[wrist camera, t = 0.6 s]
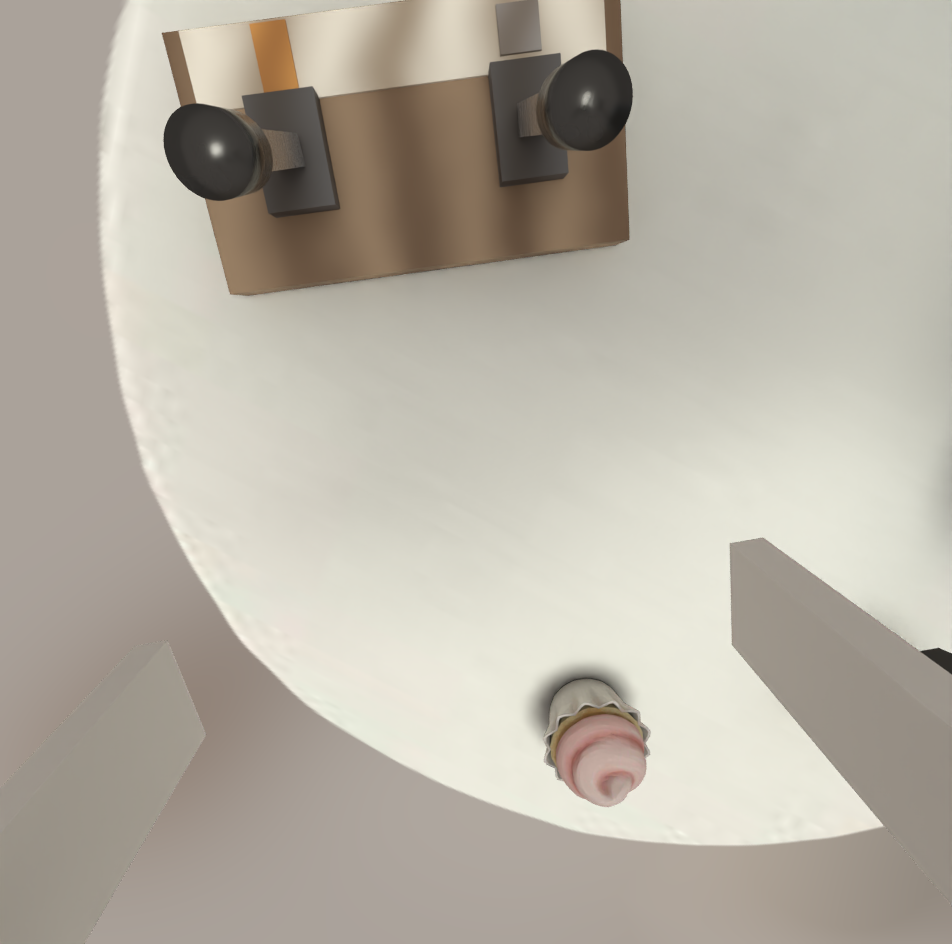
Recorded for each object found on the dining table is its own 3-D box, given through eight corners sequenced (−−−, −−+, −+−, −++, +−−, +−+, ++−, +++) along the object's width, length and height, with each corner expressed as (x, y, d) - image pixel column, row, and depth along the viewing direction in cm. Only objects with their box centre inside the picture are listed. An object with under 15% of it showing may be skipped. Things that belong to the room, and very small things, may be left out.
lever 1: (306, 116, 28) (234, 97, 18) (321, 178, 30) (263, 195, 19) (252, 123, 28) (148, 109, 18) (269, 185, 30) (184, 206, 19)
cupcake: (620, 649, 46) (665, 737, 37) (641, 728, 49) (687, 829, 40) (521, 678, 47) (539, 772, 37) (546, 755, 50) (570, 861, 40)
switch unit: (604, 2, 32) (628, -46, 28) (615, 245, 36) (637, 236, 32) (187, 58, 32) (146, 18, 28) (247, 295, 36) (220, 293, 32)
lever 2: (557, 82, 28) (634, 43, 18) (559, 146, 30) (630, 145, 20) (503, 89, 28) (549, 55, 18) (508, 153, 30) (552, 155, 20)
